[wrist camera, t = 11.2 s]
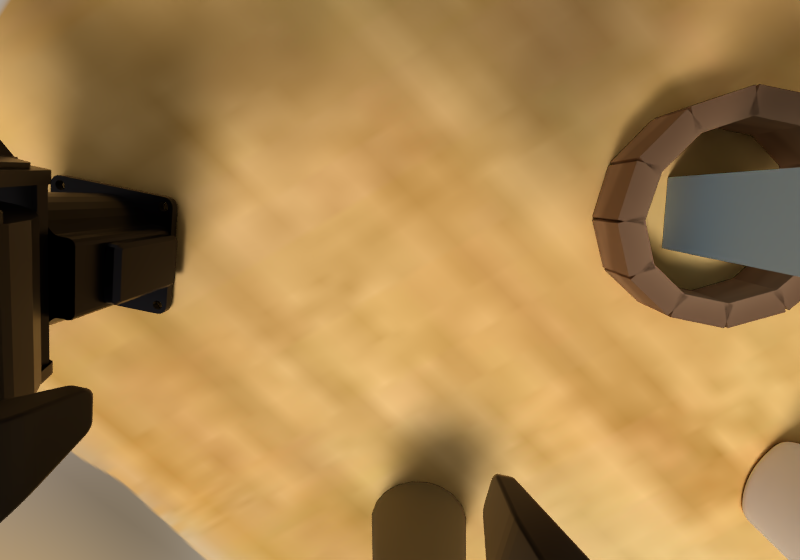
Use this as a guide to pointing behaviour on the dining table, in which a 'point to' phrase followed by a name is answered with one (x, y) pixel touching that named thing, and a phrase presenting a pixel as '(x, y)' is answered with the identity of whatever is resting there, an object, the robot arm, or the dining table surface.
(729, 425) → the dining table surface
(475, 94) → the dining table surface
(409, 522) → the cork
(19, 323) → the robot arm
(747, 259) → the blue-gray square peg
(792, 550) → the eye dropper bottle
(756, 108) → the bead ring
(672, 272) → the dining table surface
